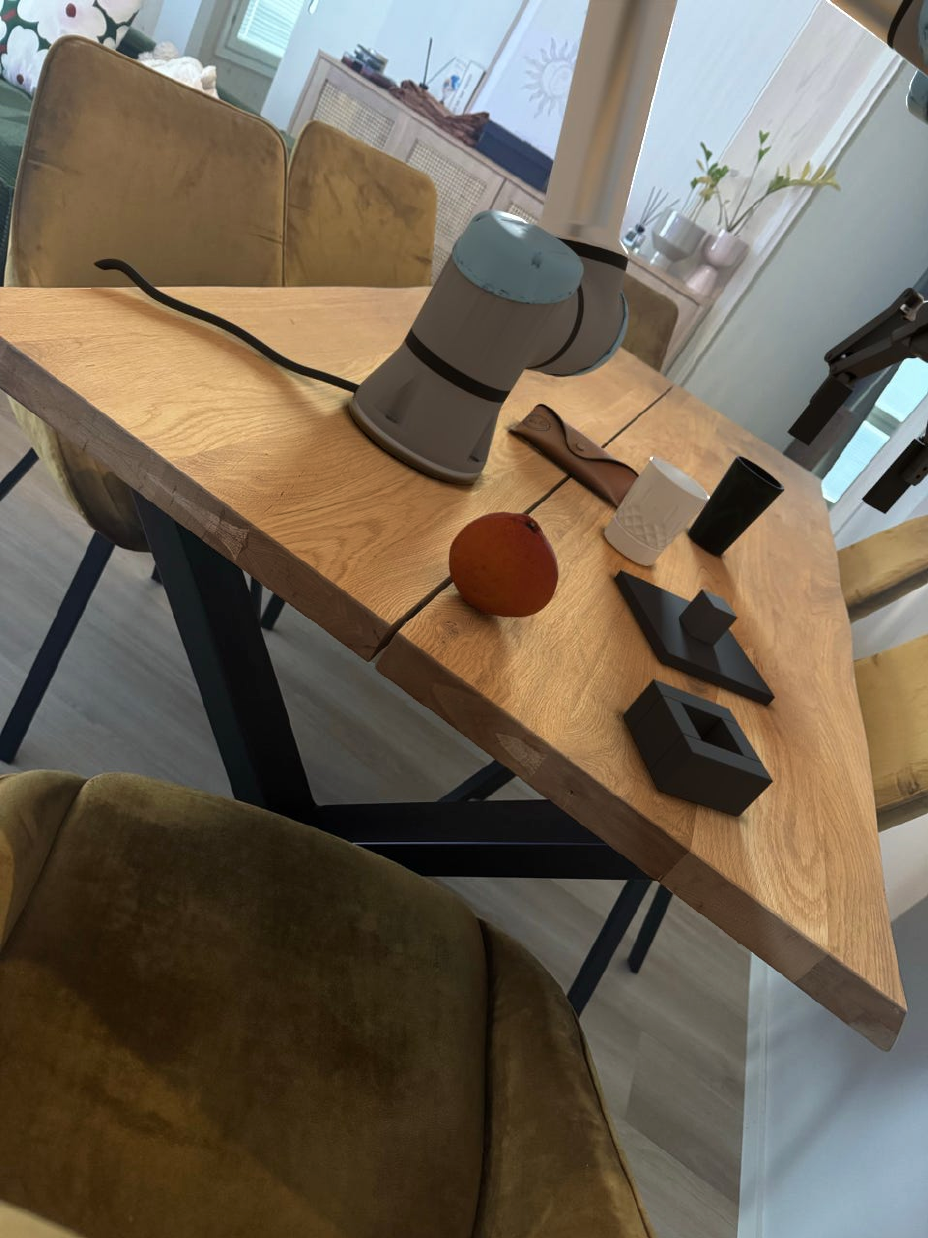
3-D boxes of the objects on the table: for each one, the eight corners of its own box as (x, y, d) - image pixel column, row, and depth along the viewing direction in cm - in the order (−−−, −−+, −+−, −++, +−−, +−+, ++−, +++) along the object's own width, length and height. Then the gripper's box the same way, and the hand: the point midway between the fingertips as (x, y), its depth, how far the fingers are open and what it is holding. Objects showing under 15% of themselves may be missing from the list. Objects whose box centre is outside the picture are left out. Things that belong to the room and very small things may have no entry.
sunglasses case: (506, 426, 116) (538, 386, 116) (505, 444, 123) (535, 406, 123) (621, 510, 114) (653, 468, 115) (613, 523, 121) (643, 484, 122)
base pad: (660, 662, 83) (694, 621, 81) (613, 578, 94) (642, 540, 92) (767, 706, 89) (802, 669, 87) (711, 622, 100) (740, 587, 98)
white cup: (661, 561, 108) (714, 493, 103) (648, 577, 101) (704, 504, 96) (607, 521, 109) (657, 452, 104) (591, 534, 102) (644, 461, 97)
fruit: (499, 650, 68) (558, 567, 65) (414, 575, 70) (466, 491, 67) (544, 626, 76) (599, 551, 72) (466, 559, 78) (516, 483, 75)
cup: (729, 568, 122) (788, 496, 117) (682, 537, 121) (739, 463, 116) (724, 548, 129) (780, 480, 124) (680, 519, 128) (734, 449, 123)
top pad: (657, 791, 64) (692, 752, 63) (622, 715, 71) (653, 678, 69) (738, 817, 68) (774, 781, 66) (698, 742, 74) (729, 708, 72)
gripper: (1142, 338, 69) (937, 555, 78) (940, 246, 88) (795, 429, 98) (1091, 292, 66) (882, 525, 75) (892, 207, 85) (746, 400, 94)
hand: (832, 471), depth 86 cm, fingers open, 13 cm apart
